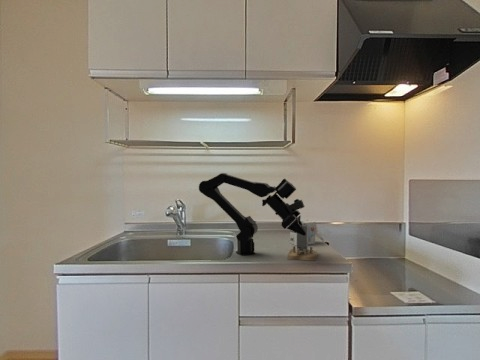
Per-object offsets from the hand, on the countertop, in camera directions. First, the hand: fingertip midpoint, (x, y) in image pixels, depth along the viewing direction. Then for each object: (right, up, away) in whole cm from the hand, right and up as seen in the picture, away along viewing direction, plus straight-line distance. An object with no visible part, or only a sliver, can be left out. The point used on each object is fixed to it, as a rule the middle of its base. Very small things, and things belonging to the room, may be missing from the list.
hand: (305, 233), depth 152 cm
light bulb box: (+3, -9, +27) cm, 29 cm away
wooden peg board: (-1, -9, +1) cm, 10 cm away
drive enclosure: (-1, -7, +1) cm, 7 cm away
